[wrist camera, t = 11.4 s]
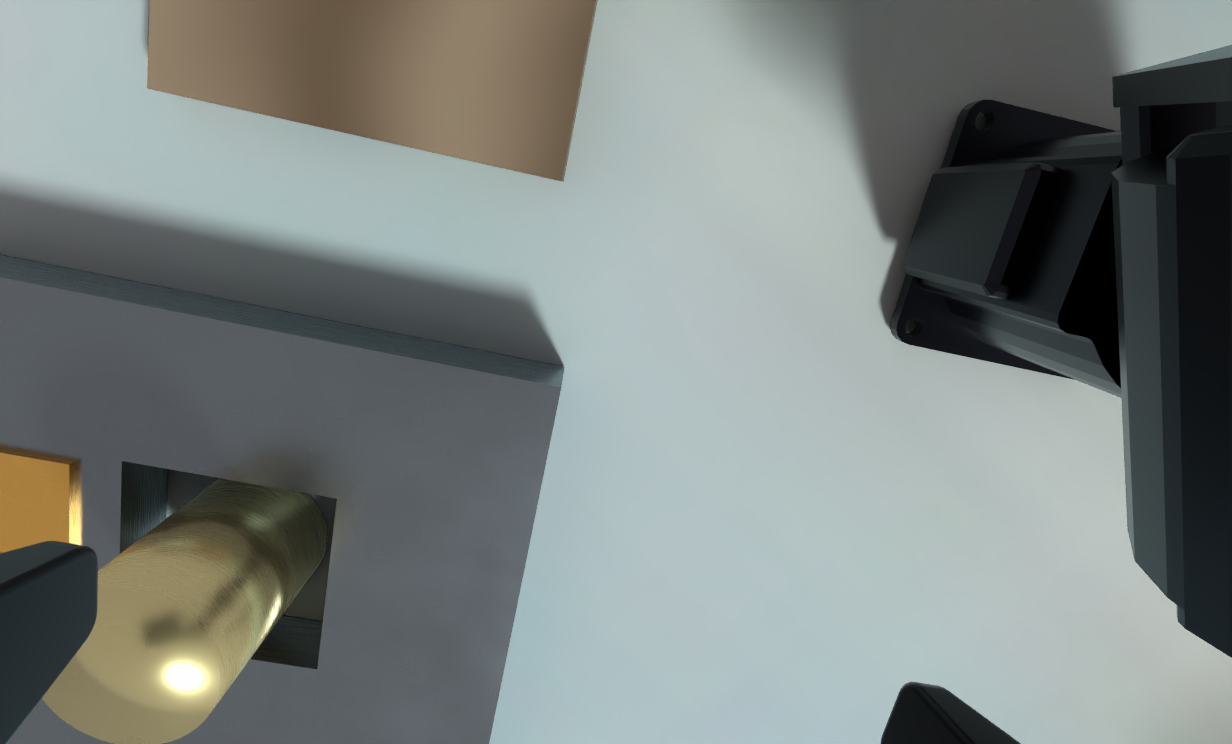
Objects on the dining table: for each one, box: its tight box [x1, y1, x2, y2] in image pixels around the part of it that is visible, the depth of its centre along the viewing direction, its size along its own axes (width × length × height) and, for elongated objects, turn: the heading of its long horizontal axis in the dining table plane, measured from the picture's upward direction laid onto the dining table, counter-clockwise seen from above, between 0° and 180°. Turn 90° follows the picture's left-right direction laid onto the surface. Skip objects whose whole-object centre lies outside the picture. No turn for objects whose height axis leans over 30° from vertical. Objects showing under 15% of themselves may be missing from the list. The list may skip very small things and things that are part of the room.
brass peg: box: [42, 478, 328, 744], centre depth 17 cm, size 4×4×6 cm
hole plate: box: [0, 255, 564, 744], centre depth 19 cm, size 16×14×2 cm
